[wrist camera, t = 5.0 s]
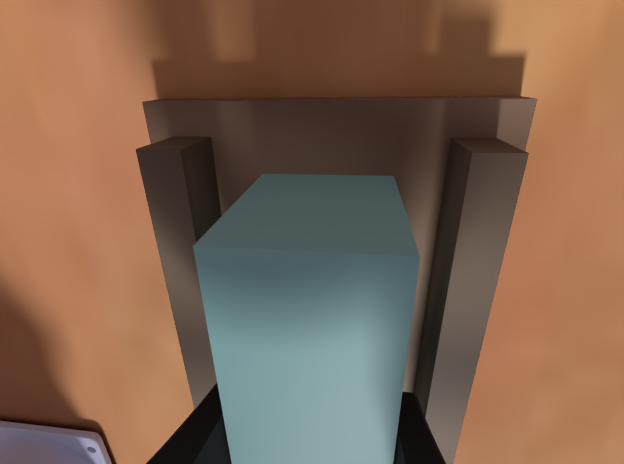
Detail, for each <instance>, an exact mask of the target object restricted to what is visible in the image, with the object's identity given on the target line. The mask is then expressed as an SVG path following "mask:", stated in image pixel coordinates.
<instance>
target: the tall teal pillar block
mask: <svg viewBox="0 0 624 464" xmlns="http://www.w3.org/2000/svg"><path fill="white" fill-rule="evenodd" d="M193 250H194V255H195V261H196V266H197V272H198V278H199V283H200V289H201V294H202V300H203V306H204V311H205V317H206V322H207V328H208V334H209V339H210V345H211V350H212V356H213V362H214V367H215V373H216V378H217V384H218V390H219V395H220V401H221V406H222V412H223V418H224V423H225V429H226V434H227V440H228V446H229V451H230V457H231V462H232V464H393V461H394V453H395V446H396V438H397V431H398V423H399V415H400V408H401V400H402V392H403V385H404V377H405V369H406V362H407V354H408V346H409V339H410V331H411V323H412V316H413V308H414V301H415V293H416V285H417V278H418V270H419V262H420V254H419V251H418V248H417V245H416V242H415V239H414V236H413V233H412V230H411V227H410V224H409V220H408V217H407V214H406V211H405V208H404V205H403V202H402V199H401V196H400V193H399V190H398V187H397V184H396V180H395V177H394V176H368V175H314V174H262V175H261V176H260V177H259V178H258V179H257V180H256V181H255V182H254V183H253V184H252V185H251V186H250V187H249V189H248V190H247V191H246V192H245V193H244V194H243V195H242V196H241V197H240V198H239V199H238V200H237V201H236V202H235V203H234V204H233V205H232V206H231V207H230V208H229V209H228V210H227V211H226V212H225V213H224V214H223V215H222V217H221V218H220V219H219V220H218V221H217V222H216V223H215V224H214V225H213V226H212V227H211V228H210V229H209V230H208V231H207V232H206V233H205V234H204V235H203V236H202V237H201V238H200V239H199V240H198V241H197V242H196V243H195V245H194V246H193Z"/></svg>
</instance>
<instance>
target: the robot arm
mask: <svg viewBox="0 0 624 464" xmlns="http://www.w3.org/2000/svg"><path fill="white" fill-rule="evenodd" d="M0 464H112V462H111V460H110V457H109V455H108V452H107V450H106V448H105V445H104V443H103V440H102V438H101V436H100V435H99V434H97V433H95V432H91V431H83V430H74V429H66V428H57V427H49V426H41V425H32V424H24V423H15V422H7V421H0ZM146 464H232V462H231V457H230V451H229V446H228V440H227V434H226V429H225V423H224V418H223V412H222V406H221V401H220V395H219V390H218V384H217V383H216V384H215V385H214V386H213V388H212V389H211V390H210V391H209V393H208V394H207V395H206V396H205V398H204V399H203V400H202V401H201V402H200V404H199V405H198V406H197V407H196V408H195V410H194V411H193V412H192V413H191V414H190V416H189V417H188V418H187V419H186V420H185V421H184V423H183V424H182V425H181V426H180V427H179V428H178V429H177V430H176V432H175V433H174V434H173V435H172V436H171V437H170V438H169V440H168V441H167V442H166V443H165V444H164V445H163V446H162V447H161V448H160V450H159V451H158V452H157V453H156V454H155V455H154V456H153V457H152V458H151V459H150V460H149V461H148V462H147V463H146ZM393 464H446V462H445V460H444V458H443V456H442V454H441V452H440V450H439V448H438V446H437V443H436V441H435V439H434V437H433V435H432V432H431V430H430V428H429V426H428V423H427V421H426V419H425V416H424V414H423V411H422V408H421V406H420V403H419V400H418V397H417V396H416V395H415V394H414V393H411V392H402V400H401V408H400V415H399V423H398V431H397V438H396V446H395V453H394V461H393Z"/></svg>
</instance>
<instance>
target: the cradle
mask: <svg viewBox="0 0 624 464" xmlns="http://www.w3.org/2000/svg"><path fill="white" fill-rule="evenodd" d="M536 102H537V99H535V98H529V97H522V96H510V97H394V98H278V99H163V100H153V101H145V102H142V103H143V108H144V112H145V117H146V122H147V127H148V132H149V137H150V141H151V144H150V145H147V146H144V147H141V148H138V149H136V153H137V158H138V162H139V166H140V171H141V175H142V180H143V184H144V188H145V193H146V197H147V202H148V206H149V210H150V215H151V219H152V224H153V228H154V233H155V237H156V241H157V246H158V250H159V255H160V259H161V263H162V268H163V272H164V277H165V281H166V286H167V290H168V294H169V299H170V303H171V308H172V312H173V316H174V321H175V325H176V330H177V334H178V338H179V343H180V347H181V352H182V356H183V361H184V365H185V369H186V374H187V378H188V383H189V387H190V391H191V396H192V400H193V405H194V409H195V408H196V407H197V406H198V405H199V404H200V402H201V401H202V400H203V399H204V398H205V396H206V395H207V394H208V393H209V391H210V390H211V389H212V388H213V386H214V385H215V384H216V383H217V378H216V373H215V367H214V362H213V356H212V350H211V345H210V339H209V334H208V328H207V322H206V317H205V311H204V306H203V300H202V294H201V289H200V283H199V278H198V272H197V266H196V261H195V255H194V250H193V246H194V245H195V243H196V242H197V241H198V240H199V239H200V238H201V237H202V236H203V235H204V234H205V233H206V232H207V231H208V230H209V229H210V228H211V227H212V226H213V225H214V224H215V223H216V222H217V221H218V220H219V219H220V218H221V217H222V215H223V214H224V213H225V212H226V211H227V210H228V209H229V208H230V207H231V206H232V205H233V204H234V203H235V202H236V201H237V200H238V199H239V198H240V197H241V196H242V195H243V194H244V193H245V192H246V191H247V190H248V189H249V187H250V186H251V185H252V184H253V183H254V182H255V181H256V180H257V179H258V178H259V177H260V176H261V175H262V174H314V175H368V176H394V177H395V180H396V184H397V187H398V190H399V193H400V196H401V199H402V202H403V205H404V208H405V211H406V214H407V217H408V220H409V224H410V227H411V230H412V233H413V236H414V239H415V242H416V245H417V248H418V251H419V254H420V262H419V270H418V278H417V285H416V293H415V301H414V308H413V316H412V323H411V331H410V339H409V346H408V354H407V362H406V369H405V377H404V385H403V392H411V393H414V394H415V395H416V396H417V397H418V400H419V403H420V406H421V408H422V411H423V414H424V416H425V419H426V421H427V423H428V426H429V428H430V430H431V432H432V435H433V437H434V439H435V441H436V443H437V446H438V448H439V450H440V452H441V454H442V456H443V458H444V460H445V462H446V464H453V461H454V457H455V453H456V449H457V445H458V440H459V436H460V432H461V428H462V424H463V420H464V416H465V412H466V408H467V404H468V400H469V395H470V391H471V387H472V383H473V379H474V375H475V371H476V367H477V363H478V359H479V355H480V350H481V346H482V342H483V338H484V334H485V330H486V326H487V322H488V318H489V314H490V310H491V305H492V301H493V297H494V293H495V289H496V285H497V281H498V277H499V273H500V269H501V265H502V261H503V256H504V252H505V248H506V244H507V240H508V236H509V232H510V228H511V224H512V220H513V216H514V211H515V207H516V203H517V199H518V195H519V191H520V187H521V183H522V179H523V175H524V171H525V166H526V162H527V158H528V154H529V153H527V152H525V148H526V144H527V140H528V136H529V131H530V127H531V123H532V119H533V115H534V111H535V106H536Z"/></svg>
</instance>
